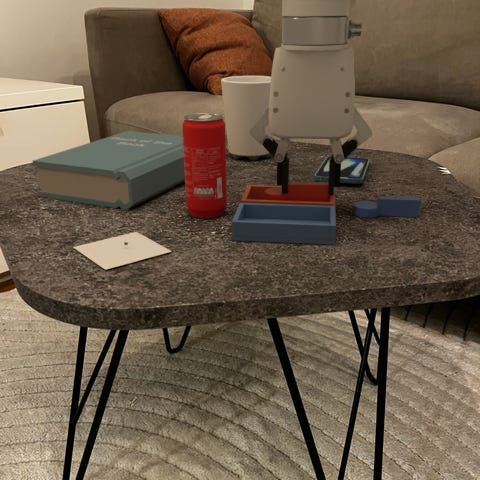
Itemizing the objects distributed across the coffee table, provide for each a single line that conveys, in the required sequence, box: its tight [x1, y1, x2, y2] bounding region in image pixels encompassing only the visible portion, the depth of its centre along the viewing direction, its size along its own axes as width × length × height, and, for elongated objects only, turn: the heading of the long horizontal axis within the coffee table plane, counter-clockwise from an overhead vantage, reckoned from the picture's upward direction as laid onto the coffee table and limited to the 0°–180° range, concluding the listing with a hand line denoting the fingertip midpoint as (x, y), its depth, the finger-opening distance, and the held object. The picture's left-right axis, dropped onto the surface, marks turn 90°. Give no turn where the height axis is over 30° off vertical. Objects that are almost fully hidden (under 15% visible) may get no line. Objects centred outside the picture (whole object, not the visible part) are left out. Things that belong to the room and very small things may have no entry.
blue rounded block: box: [352, 195, 422, 219], centre depth 75 cm, size 8×3×2 cm, turn 83°
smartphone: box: [313, 155, 371, 185], centre depth 94 cm, size 7×1×15 cm
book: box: [31, 130, 185, 211], centre depth 88 cm, size 23×16×5 cm
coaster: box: [72, 231, 173, 271], centre depth 65 cm, size 8×8×1 cm
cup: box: [220, 75, 275, 162], centre depth 101 cm, size 10×10×13 cm
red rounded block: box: [264, 181, 328, 202], centre depth 76 cm, size 8×3×2 cm, turn 83°
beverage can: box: [181, 112, 228, 219], centre depth 74 cm, size 5×5×12 cm
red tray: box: [240, 184, 336, 207], centre depth 77 cm, size 12×7×2 cm, turn 83°
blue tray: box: [231, 202, 337, 246], centre depth 70 cm, size 12×7×2 cm, turn 83°
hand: (307, 190), depth 76 cm, fingers closed on red rounded block, 5 cm apart
